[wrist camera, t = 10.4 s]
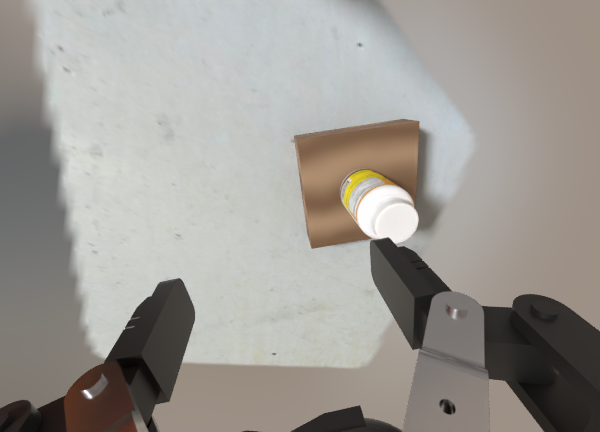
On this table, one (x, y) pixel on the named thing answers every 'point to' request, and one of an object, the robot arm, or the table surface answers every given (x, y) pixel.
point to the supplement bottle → (379, 206)
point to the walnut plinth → (344, 160)
